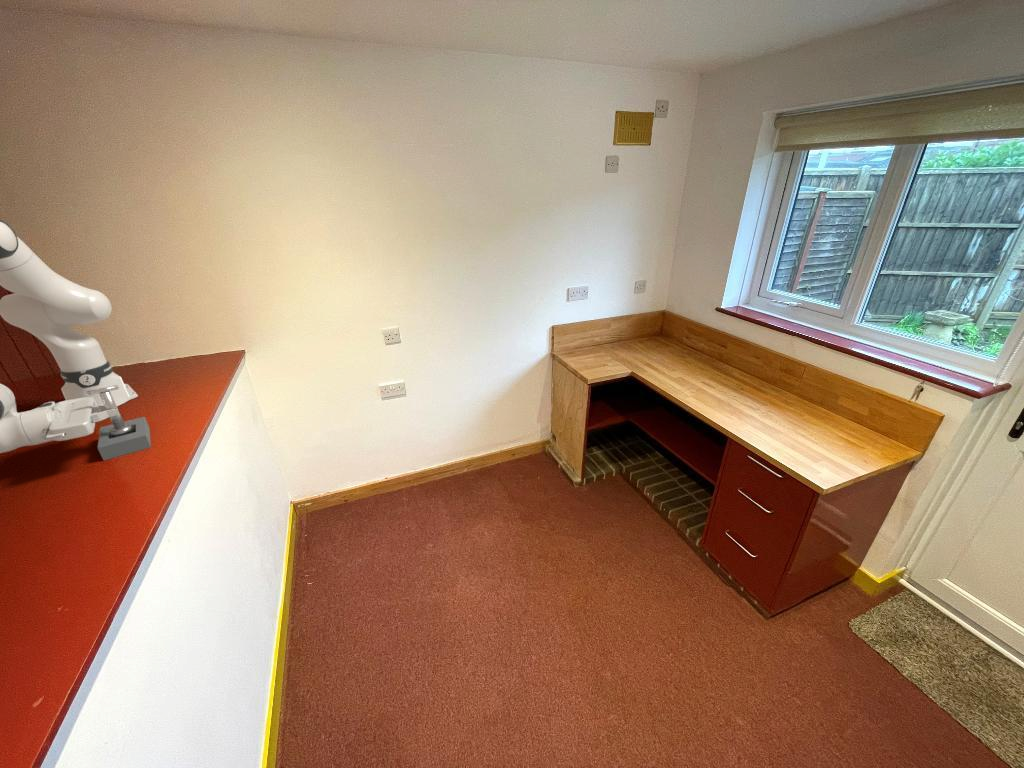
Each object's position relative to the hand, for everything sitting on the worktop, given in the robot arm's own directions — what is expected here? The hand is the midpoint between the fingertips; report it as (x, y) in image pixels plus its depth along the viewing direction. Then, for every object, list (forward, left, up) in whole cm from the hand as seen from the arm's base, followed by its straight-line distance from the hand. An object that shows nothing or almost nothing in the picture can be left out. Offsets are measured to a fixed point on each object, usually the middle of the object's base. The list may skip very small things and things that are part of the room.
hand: (116, 408), depth 115 cm
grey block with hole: (0, -1, -11) cm, 11 cm away
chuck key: (0, -1, -7) cm, 8 cm away
